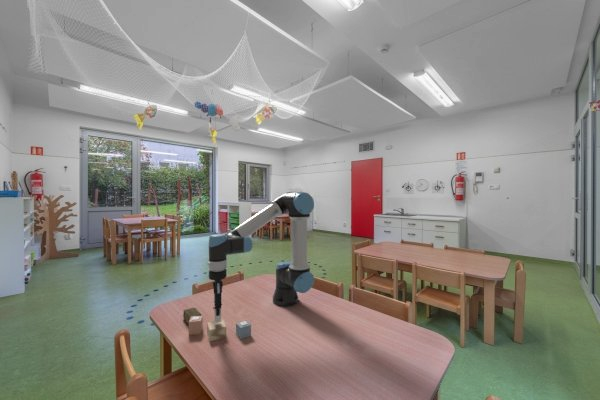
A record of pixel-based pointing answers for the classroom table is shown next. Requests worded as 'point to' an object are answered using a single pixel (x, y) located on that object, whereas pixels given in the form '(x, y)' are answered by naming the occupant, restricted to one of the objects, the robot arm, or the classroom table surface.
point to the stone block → (190, 314)
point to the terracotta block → (195, 325)
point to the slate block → (243, 329)
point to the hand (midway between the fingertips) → (217, 321)
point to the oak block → (216, 330)
